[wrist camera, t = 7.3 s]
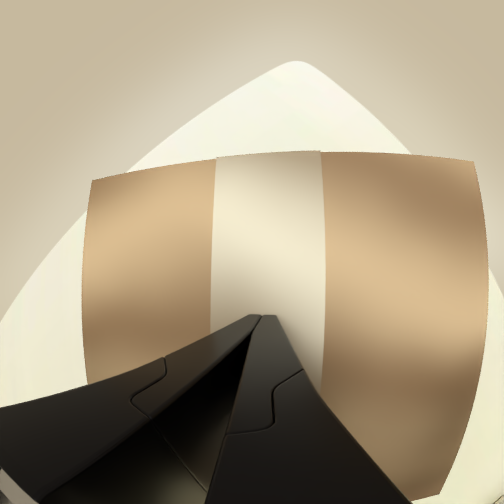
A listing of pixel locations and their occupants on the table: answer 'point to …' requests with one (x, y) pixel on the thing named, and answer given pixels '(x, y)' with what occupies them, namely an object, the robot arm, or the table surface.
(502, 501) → the syrup box
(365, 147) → the table surface
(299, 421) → the robot arm
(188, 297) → the lid
